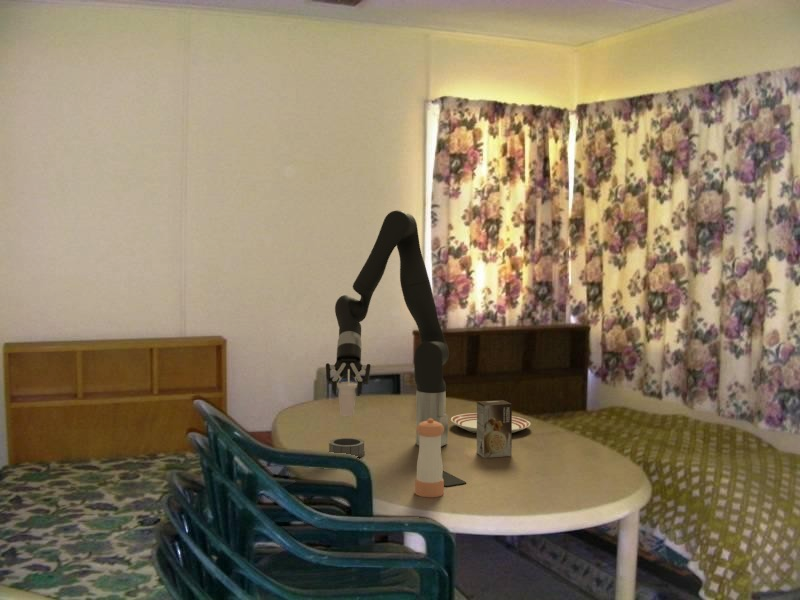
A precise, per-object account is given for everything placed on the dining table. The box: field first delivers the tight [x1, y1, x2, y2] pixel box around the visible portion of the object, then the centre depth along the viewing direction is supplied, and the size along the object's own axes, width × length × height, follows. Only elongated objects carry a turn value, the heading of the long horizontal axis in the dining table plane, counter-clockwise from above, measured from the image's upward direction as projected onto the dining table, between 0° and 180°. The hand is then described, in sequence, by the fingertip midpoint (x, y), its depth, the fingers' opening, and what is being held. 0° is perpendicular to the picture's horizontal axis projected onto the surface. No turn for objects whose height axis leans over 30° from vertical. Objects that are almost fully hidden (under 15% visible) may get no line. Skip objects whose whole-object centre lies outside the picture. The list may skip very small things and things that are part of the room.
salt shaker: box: [414, 418, 445, 498], centre depth 198 cm, size 7×7×19 cm
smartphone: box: [442, 470, 467, 488], centre depth 212 cm, size 7×1×15 cm
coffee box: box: [476, 399, 513, 459], centre depth 236 cm, size 9×6×16 cm
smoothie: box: [337, 369, 358, 418], centre depth 234 cm, size 6×6×14 cm
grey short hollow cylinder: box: [328, 437, 366, 458], centre depth 235 cm, size 11×11×4 cm
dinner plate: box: [450, 412, 532, 434], centre depth 270 cm, size 27×27×3 cm
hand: (346, 394), depth 232 cm, fingers closed on smoothie, 6 cm apart
